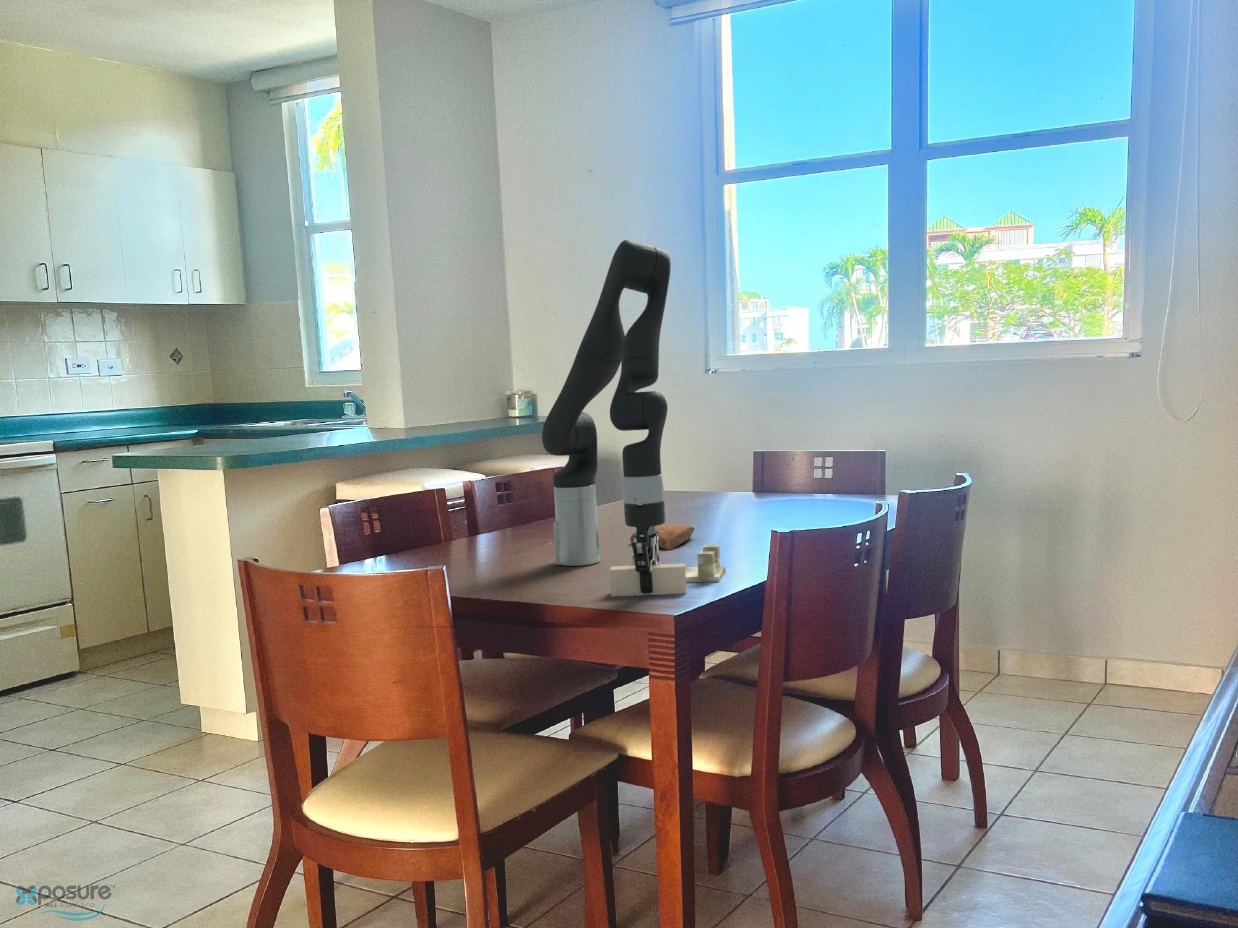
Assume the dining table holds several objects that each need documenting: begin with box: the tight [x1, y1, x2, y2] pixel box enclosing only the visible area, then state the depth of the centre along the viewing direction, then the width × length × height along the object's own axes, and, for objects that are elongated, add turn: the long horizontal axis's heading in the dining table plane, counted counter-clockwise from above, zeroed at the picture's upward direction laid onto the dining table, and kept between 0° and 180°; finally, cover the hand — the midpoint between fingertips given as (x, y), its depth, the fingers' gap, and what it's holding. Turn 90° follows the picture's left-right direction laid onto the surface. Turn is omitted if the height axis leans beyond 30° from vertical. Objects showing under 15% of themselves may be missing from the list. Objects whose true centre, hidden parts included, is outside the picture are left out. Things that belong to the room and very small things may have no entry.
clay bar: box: [609, 562, 688, 597], centre depth 192 cm, size 14×4×5 cm, turn 86°
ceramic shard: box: [629, 524, 695, 551], centre depth 246 cm, size 15×6×15 cm
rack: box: [631, 544, 726, 583], centre depth 205 cm, size 18×10×6 cm, turn 77°
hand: (649, 589), depth 192 cm, fingers closed on clay bar, 4 cm apart
